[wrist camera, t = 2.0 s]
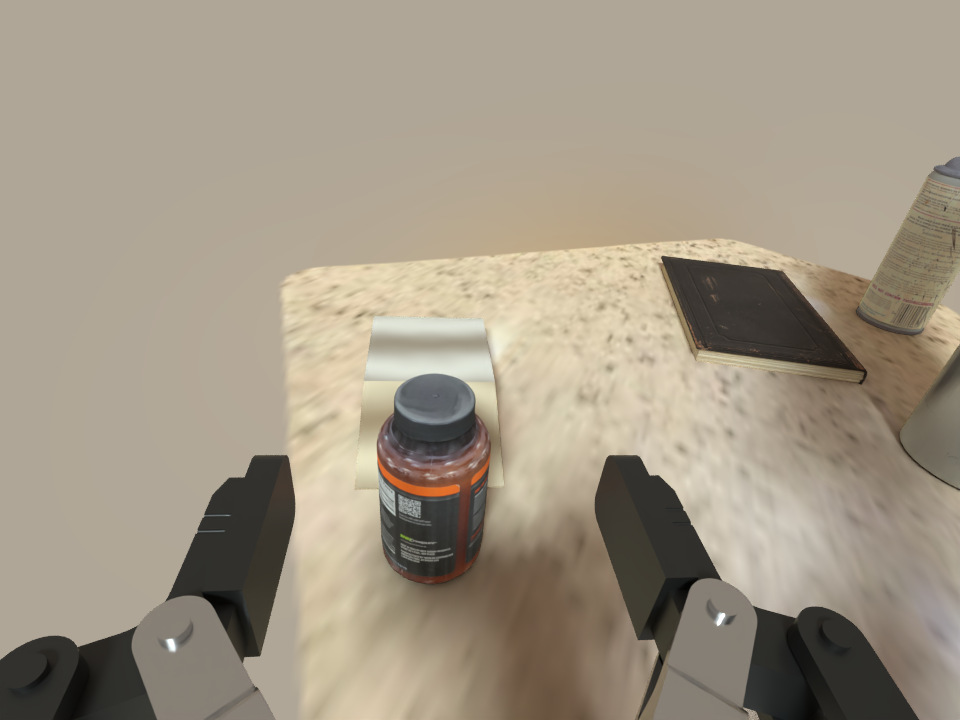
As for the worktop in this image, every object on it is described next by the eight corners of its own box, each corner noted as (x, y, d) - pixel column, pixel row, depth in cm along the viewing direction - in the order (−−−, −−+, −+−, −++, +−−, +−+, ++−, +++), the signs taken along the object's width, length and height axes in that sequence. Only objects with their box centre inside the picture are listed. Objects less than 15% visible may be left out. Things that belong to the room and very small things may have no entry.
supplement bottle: (471, 501, 35) (486, 358, 29) (489, 582, 30) (510, 432, 24) (379, 509, 34) (373, 363, 27) (382, 595, 29) (375, 441, 23)
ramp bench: (502, 498, 37) (508, 454, 34) (355, 500, 36) (352, 455, 33) (479, 355, 52) (482, 318, 49) (375, 353, 50) (374, 316, 48)
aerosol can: (936, 331, 61) (1054, 149, 50) (894, 337, 59) (1006, 149, 48) (883, 304, 66) (978, 134, 55) (843, 308, 64) (933, 133, 53)
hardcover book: (690, 365, 52) (697, 346, 51) (657, 271, 71) (661, 255, 70) (859, 389, 51) (871, 369, 49) (779, 287, 70) (786, 271, 69)
